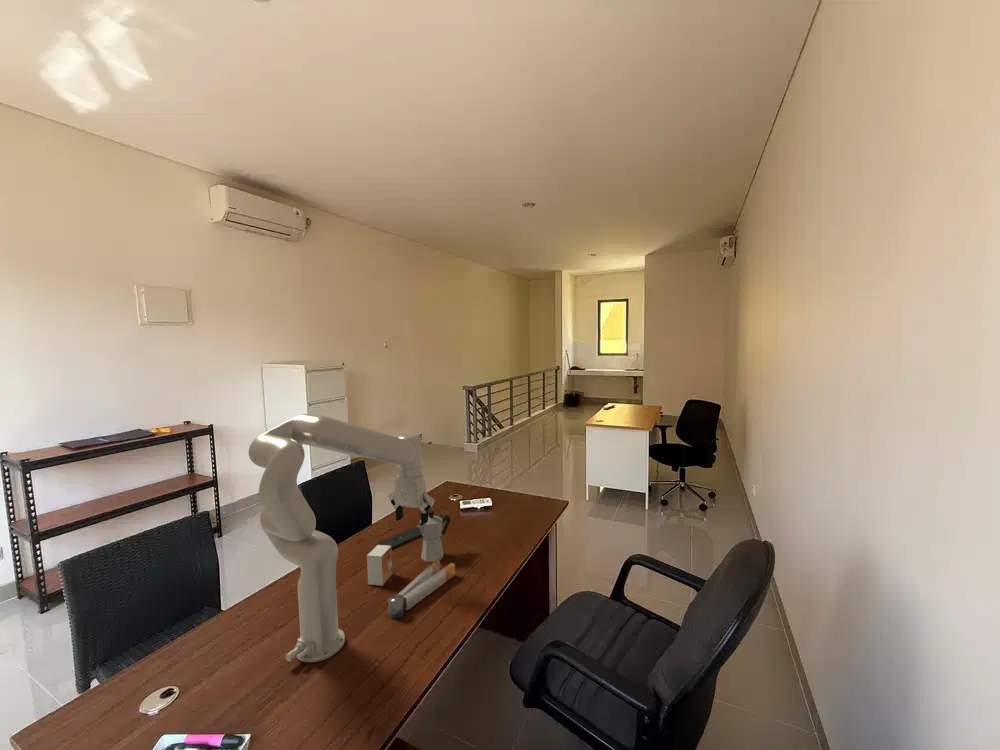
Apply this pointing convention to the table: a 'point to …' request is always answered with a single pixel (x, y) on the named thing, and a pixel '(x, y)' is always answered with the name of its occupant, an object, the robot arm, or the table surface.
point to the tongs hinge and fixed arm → (397, 600)
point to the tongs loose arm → (428, 586)
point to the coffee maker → (433, 536)
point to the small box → (379, 565)
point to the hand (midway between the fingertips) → (412, 521)
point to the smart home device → (402, 538)
